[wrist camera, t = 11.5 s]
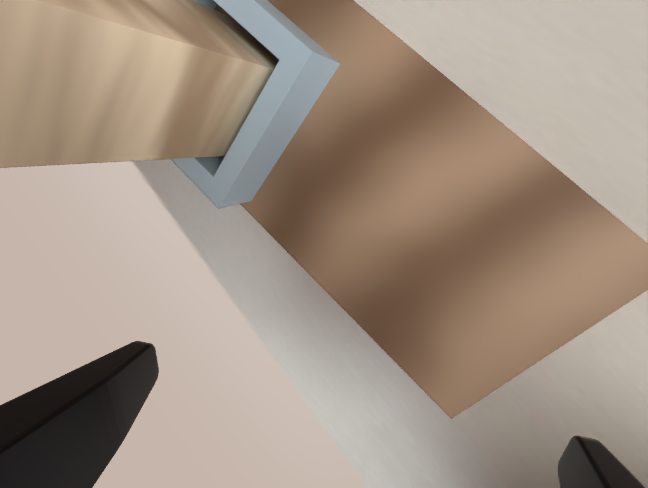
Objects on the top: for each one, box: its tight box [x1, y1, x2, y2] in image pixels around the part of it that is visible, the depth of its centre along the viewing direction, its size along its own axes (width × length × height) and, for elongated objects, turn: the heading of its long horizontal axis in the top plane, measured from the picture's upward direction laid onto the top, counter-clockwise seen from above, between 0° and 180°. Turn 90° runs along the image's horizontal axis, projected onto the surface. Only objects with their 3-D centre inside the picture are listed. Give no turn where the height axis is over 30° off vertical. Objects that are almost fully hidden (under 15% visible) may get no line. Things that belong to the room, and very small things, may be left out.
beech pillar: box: [0, 0, 278, 168], centre depth 13 cm, size 4×4×12 cm
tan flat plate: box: [215, 0, 648, 418], centre depth 18 cm, size 22×10×1 cm, turn 51°
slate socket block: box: [171, 0, 340, 208], centre depth 18 cm, size 8×8×2 cm
